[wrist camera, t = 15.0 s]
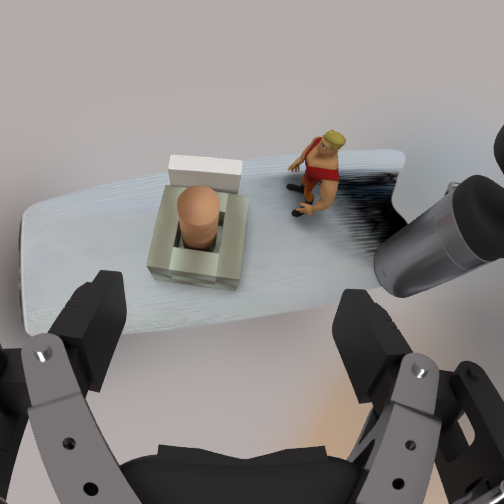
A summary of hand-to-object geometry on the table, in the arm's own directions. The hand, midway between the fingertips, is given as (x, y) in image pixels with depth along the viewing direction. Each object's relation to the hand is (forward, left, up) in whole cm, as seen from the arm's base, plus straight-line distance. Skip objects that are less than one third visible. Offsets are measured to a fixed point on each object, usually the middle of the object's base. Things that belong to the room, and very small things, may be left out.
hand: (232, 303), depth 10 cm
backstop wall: (+3, -18, -26) cm, 31 cm away
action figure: (-10, -20, -26) cm, 34 cm away
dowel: (+3, -11, -24) cm, 27 cm away
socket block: (+3, -11, -26) cm, 28 cm away
